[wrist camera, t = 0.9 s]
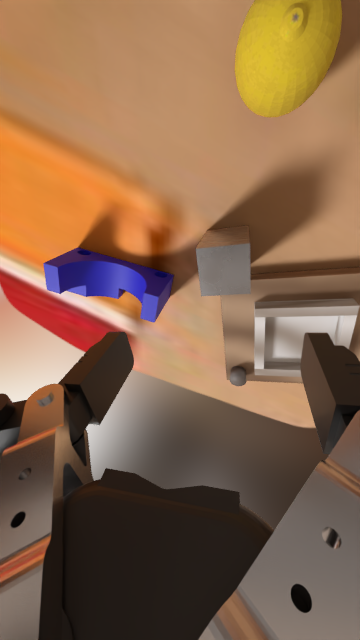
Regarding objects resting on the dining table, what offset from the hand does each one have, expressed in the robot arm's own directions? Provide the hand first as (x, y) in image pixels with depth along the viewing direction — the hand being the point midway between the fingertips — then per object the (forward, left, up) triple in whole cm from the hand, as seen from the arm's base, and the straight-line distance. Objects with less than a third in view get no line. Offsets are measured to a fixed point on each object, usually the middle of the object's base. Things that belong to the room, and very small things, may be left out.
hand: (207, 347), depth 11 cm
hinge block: (0, 0, -16) cm, 16 cm away
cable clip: (+2, -13, -17) cm, 21 cm away
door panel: (+10, +7, -16) cm, 20 cm away
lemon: (-12, +4, -17) cm, 21 cm away
